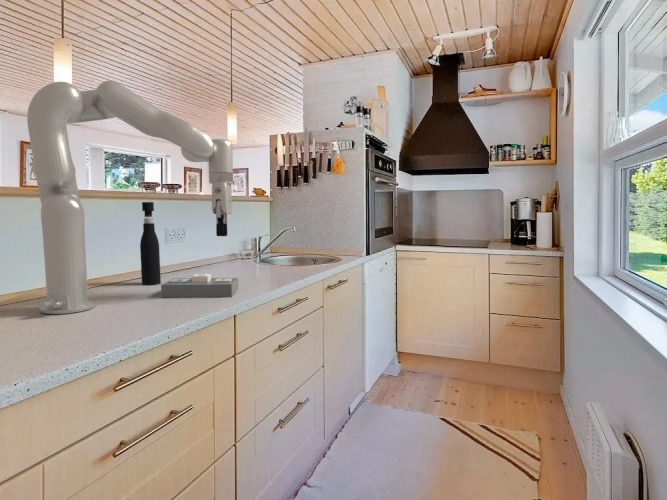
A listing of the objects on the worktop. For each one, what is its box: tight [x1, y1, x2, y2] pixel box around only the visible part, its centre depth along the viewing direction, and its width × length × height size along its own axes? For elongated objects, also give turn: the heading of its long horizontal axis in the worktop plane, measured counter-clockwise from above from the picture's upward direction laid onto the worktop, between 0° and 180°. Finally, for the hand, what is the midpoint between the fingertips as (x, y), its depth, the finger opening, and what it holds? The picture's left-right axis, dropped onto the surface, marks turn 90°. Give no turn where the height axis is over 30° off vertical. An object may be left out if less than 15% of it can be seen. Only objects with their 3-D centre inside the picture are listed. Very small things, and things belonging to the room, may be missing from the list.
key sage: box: [214, 277, 233, 283], centre depth 139 cm, size 5×5×3 cm
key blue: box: [169, 278, 190, 283], centre depth 138 cm, size 5×5×3 cm
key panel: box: [160, 277, 239, 299], centre depth 139 cm, size 13×22×4 cm, turn 94°
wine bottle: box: [139, 201, 162, 286], centre depth 155 cm, size 6×6×30 cm
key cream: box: [191, 273, 212, 283], centre depth 138 cm, size 5×5×3 cm
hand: (221, 235), depth 137 cm, fingers closed
